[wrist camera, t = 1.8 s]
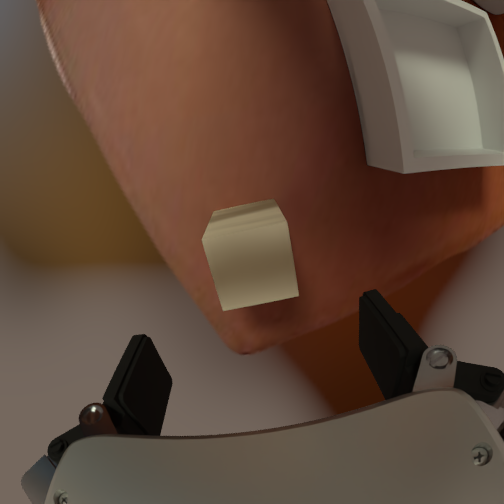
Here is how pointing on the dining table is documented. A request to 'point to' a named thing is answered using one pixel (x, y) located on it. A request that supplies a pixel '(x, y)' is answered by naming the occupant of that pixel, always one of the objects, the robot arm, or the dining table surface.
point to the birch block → (250, 255)
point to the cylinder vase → (492, 6)
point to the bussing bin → (424, 82)
